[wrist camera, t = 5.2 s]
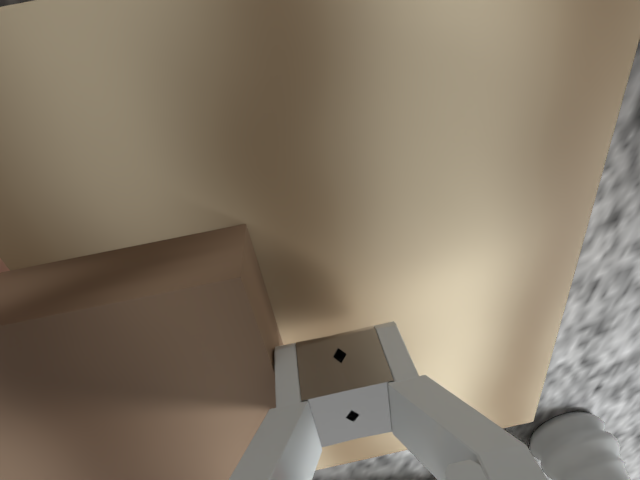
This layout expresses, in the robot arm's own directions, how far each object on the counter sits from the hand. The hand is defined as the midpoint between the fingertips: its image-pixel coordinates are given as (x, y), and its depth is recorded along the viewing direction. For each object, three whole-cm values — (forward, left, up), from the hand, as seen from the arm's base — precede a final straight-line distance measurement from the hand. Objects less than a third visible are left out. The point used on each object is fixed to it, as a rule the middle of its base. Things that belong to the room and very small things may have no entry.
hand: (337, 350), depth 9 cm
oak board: (0, 0, -4) cm, 4 cm away
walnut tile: (+5, 0, -1) cm, 6 cm away
